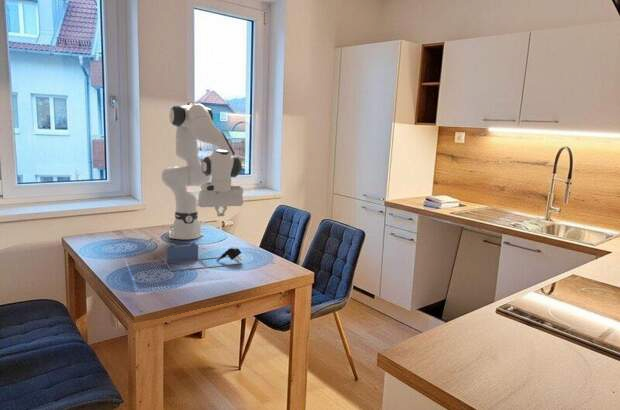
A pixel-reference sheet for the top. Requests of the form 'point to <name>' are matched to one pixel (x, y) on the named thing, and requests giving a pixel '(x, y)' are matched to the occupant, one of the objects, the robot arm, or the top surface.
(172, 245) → the frame
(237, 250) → the power plug
